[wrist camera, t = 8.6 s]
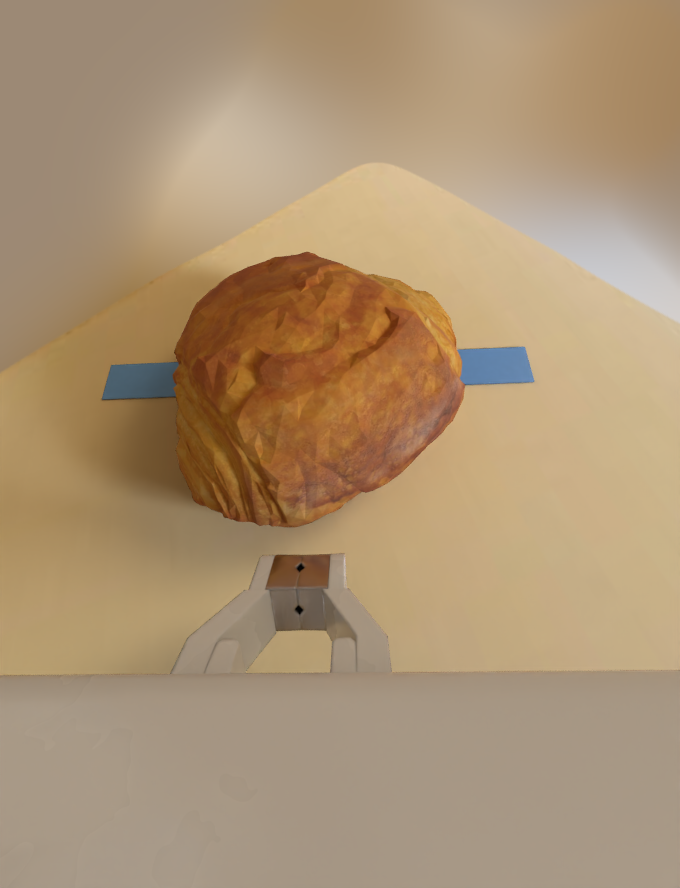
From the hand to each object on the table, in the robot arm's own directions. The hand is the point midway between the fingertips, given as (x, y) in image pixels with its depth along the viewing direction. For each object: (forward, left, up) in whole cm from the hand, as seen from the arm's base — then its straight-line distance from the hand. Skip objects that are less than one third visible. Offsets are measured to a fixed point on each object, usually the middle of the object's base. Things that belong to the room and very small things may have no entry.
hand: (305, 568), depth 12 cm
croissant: (+9, -3, -5) cm, 11 cm away
